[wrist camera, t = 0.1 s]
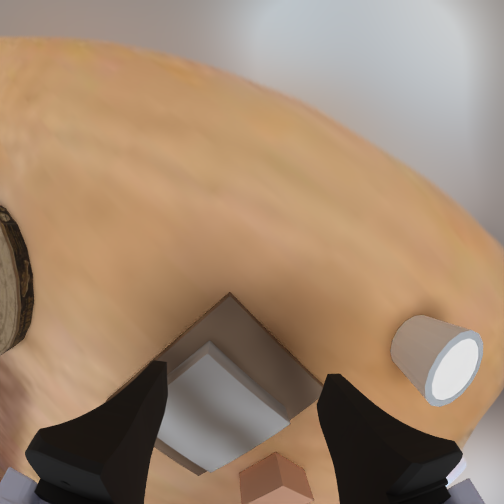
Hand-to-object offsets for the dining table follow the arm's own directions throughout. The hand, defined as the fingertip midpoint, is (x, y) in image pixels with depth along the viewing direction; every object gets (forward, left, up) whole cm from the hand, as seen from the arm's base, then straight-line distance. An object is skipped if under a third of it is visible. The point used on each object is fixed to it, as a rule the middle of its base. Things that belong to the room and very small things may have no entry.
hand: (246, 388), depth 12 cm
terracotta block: (-10, -16, -11) cm, 22 cm away
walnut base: (-7, -4, -11) cm, 13 cm away
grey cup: (+10, -14, -11) cm, 20 cm away
